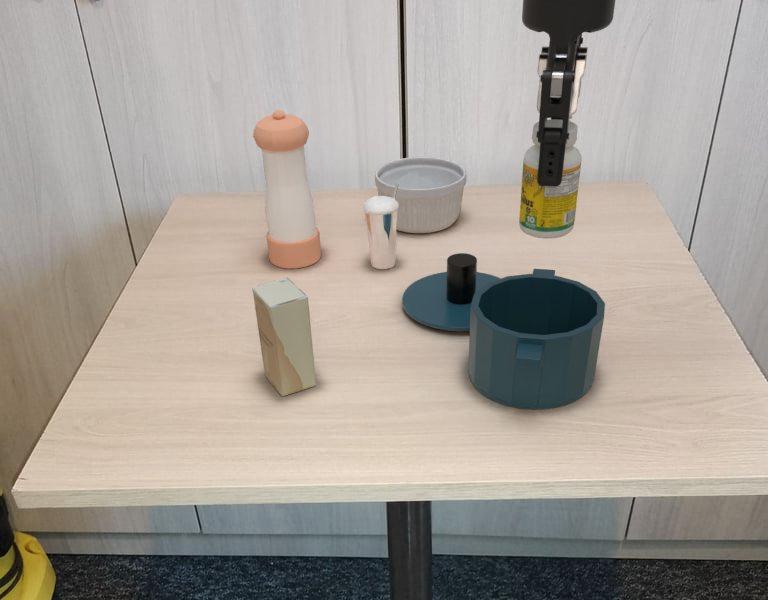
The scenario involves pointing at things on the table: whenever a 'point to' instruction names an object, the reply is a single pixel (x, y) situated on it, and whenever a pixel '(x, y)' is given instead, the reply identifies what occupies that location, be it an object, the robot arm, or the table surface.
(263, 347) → the box
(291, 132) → the pepper shaker
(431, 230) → the ramekin
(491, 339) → the pot
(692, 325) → the table surface
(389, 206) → the milkshake
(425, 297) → the lid
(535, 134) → the supplement bottle
